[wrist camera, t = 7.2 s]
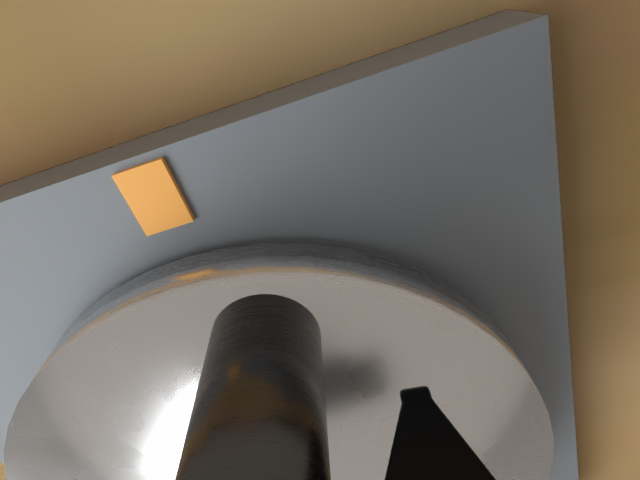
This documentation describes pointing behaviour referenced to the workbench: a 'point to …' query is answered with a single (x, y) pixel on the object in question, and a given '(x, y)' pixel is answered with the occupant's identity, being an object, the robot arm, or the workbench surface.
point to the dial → (272, 374)
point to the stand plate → (324, 198)
